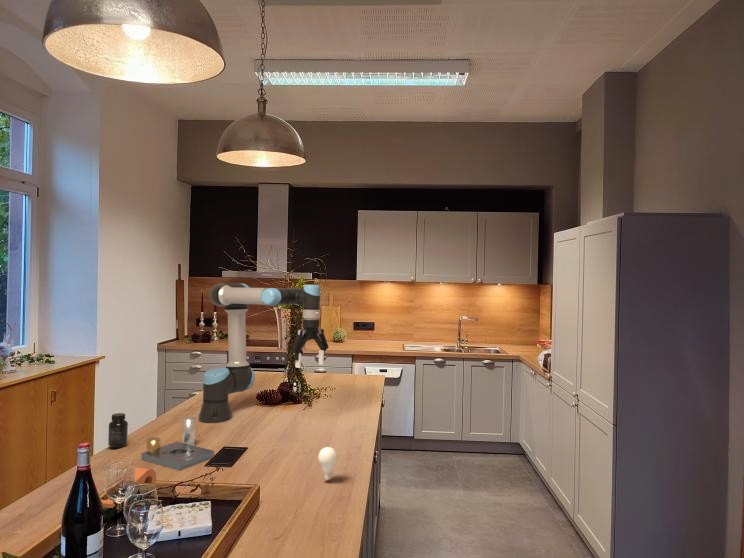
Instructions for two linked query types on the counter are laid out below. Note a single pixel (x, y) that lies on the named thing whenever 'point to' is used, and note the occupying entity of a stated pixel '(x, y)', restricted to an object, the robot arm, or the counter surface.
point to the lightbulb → (327, 461)
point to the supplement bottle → (118, 430)
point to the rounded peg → (189, 431)
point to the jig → (175, 454)
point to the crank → (140, 478)
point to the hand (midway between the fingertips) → (309, 366)
